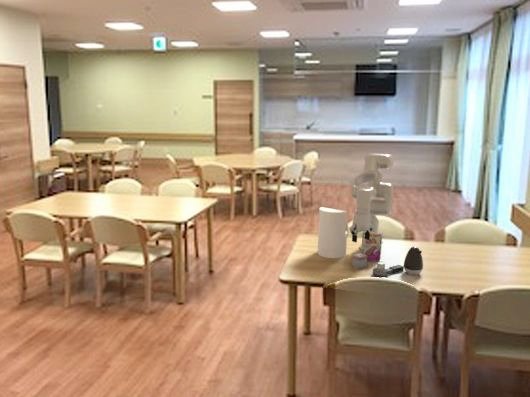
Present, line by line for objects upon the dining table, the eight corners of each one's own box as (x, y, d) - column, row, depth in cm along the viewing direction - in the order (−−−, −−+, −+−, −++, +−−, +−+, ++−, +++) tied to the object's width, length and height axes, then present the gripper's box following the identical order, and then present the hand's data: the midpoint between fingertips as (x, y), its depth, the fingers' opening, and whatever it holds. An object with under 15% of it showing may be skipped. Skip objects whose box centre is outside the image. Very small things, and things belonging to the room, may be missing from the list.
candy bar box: (360, 259, 297) (362, 232, 293) (361, 256, 301) (363, 230, 298) (379, 261, 293) (381, 234, 290) (380, 259, 298) (382, 232, 294)
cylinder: (337, 260, 294) (339, 214, 289) (312, 254, 305) (313, 209, 299) (351, 253, 308) (353, 208, 302) (326, 247, 318) (328, 204, 312)
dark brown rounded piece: (411, 277, 268) (413, 250, 265) (399, 271, 278) (401, 245, 275) (426, 275, 272) (429, 248, 269) (413, 269, 282) (416, 243, 279)
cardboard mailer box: (359, 264, 288) (360, 252, 286) (366, 267, 283) (367, 255, 282) (352, 266, 285) (352, 254, 283) (359, 269, 280) (359, 257, 279)
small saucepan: (395, 267, 283) (396, 256, 282) (406, 272, 277) (407, 260, 275) (369, 274, 272) (370, 262, 271) (380, 279, 266) (381, 266, 264)
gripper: (369, 208, 285) (367, 237, 288) (346, 211, 275) (344, 241, 279) (378, 210, 279) (376, 240, 282) (355, 213, 269) (354, 244, 273)
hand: (360, 240), depth 280 cm, fingers open, 9 cm apart
